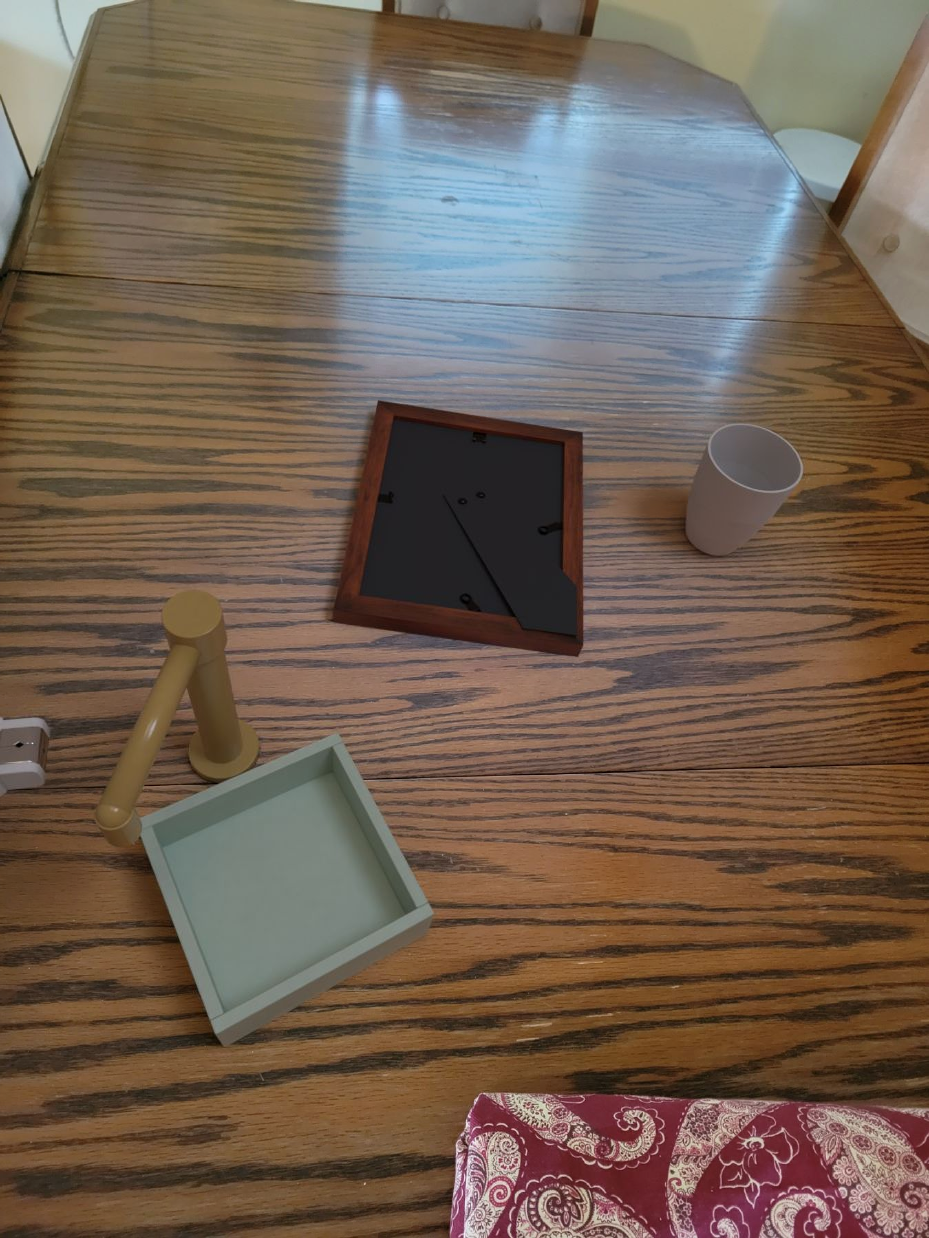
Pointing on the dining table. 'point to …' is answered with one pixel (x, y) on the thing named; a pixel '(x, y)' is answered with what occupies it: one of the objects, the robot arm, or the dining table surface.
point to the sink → (282, 885)
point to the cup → (739, 486)
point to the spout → (160, 708)
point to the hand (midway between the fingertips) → (44, 750)
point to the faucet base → (218, 725)
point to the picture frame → (467, 531)
